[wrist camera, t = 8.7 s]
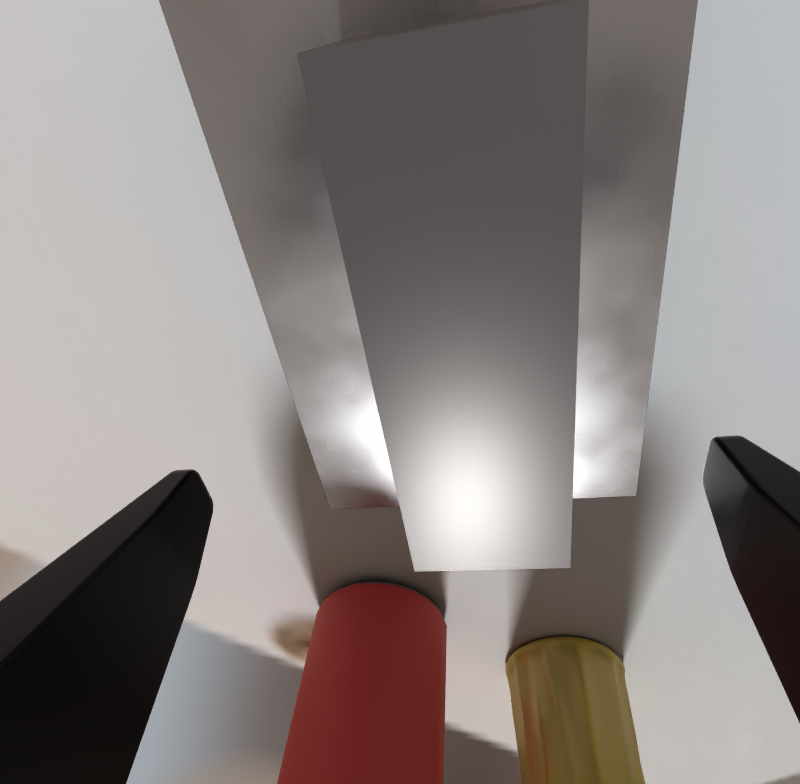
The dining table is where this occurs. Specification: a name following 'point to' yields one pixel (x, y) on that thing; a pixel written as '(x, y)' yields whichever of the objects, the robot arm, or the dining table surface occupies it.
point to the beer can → (371, 691)
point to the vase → (572, 714)
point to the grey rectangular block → (465, 267)
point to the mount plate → (318, 239)
